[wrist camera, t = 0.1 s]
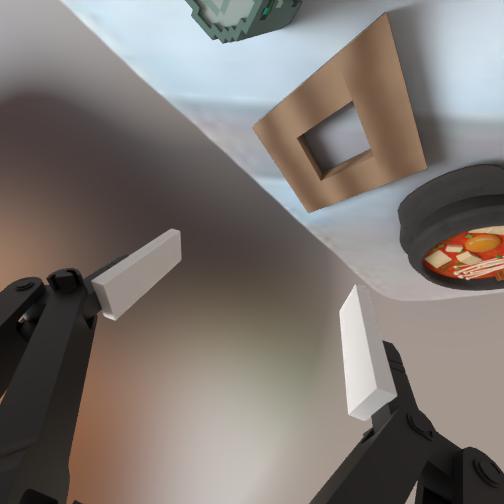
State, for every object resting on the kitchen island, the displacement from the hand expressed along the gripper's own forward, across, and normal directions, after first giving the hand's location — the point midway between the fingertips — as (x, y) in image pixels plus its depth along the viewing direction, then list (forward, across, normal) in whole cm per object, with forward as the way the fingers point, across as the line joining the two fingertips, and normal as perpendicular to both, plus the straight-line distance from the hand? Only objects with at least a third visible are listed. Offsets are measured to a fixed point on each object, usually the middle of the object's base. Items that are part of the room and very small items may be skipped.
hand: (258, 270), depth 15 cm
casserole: (+29, +29, 0) cm, 41 cm away
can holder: (+26, +4, +8) cm, 28 cm away
